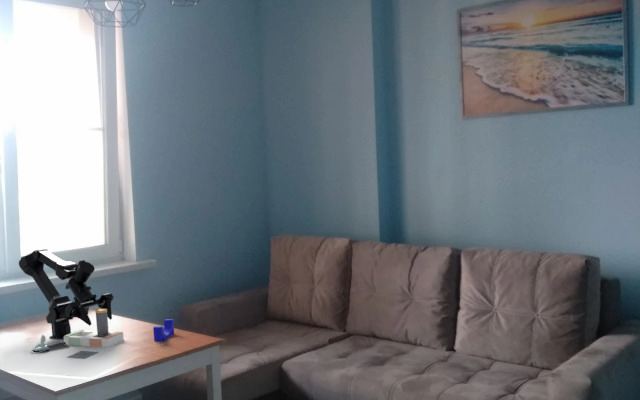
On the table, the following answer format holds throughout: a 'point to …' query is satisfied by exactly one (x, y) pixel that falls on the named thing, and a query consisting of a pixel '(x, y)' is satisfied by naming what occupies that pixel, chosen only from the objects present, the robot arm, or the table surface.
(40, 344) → the pacifier
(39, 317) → the table surface
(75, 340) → the socket panel
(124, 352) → the table surface
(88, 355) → the mat
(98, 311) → the plug
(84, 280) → the robot arm
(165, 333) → the cable clip
